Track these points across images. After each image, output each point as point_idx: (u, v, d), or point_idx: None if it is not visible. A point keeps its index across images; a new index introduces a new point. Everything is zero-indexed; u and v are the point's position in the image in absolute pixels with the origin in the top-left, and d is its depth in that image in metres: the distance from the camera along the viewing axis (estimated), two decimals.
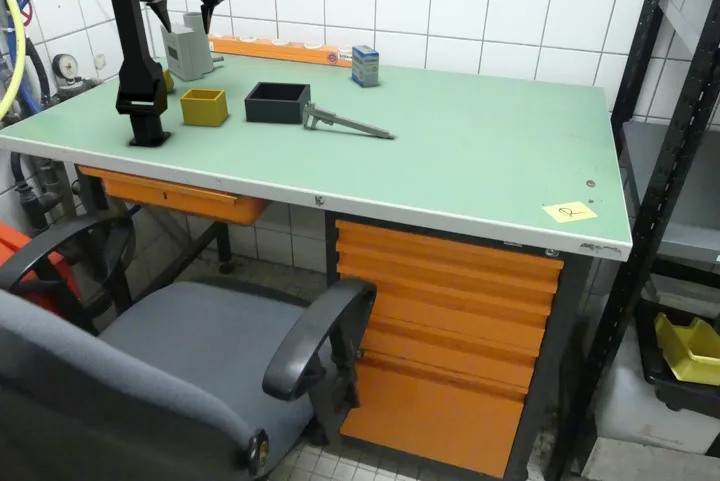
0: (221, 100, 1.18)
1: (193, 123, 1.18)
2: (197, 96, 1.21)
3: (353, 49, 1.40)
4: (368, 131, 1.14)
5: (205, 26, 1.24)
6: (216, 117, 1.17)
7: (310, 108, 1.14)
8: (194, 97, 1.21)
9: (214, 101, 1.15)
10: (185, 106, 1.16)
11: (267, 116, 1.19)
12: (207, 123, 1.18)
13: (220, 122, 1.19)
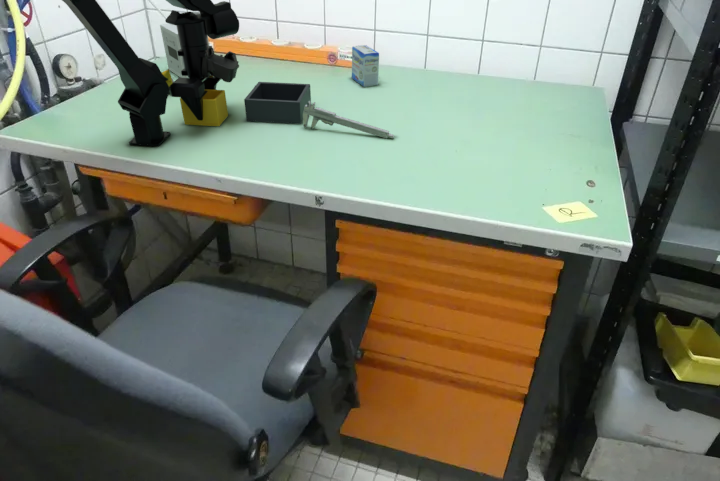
0: (221, 100, 1.18)
1: (193, 123, 1.18)
2: None
3: (353, 49, 1.40)
4: (368, 131, 1.14)
5: None
6: (216, 117, 1.17)
7: (310, 108, 1.14)
8: None
9: (214, 101, 1.15)
10: (185, 106, 1.16)
11: (267, 116, 1.19)
12: (207, 123, 1.18)
13: (220, 122, 1.19)
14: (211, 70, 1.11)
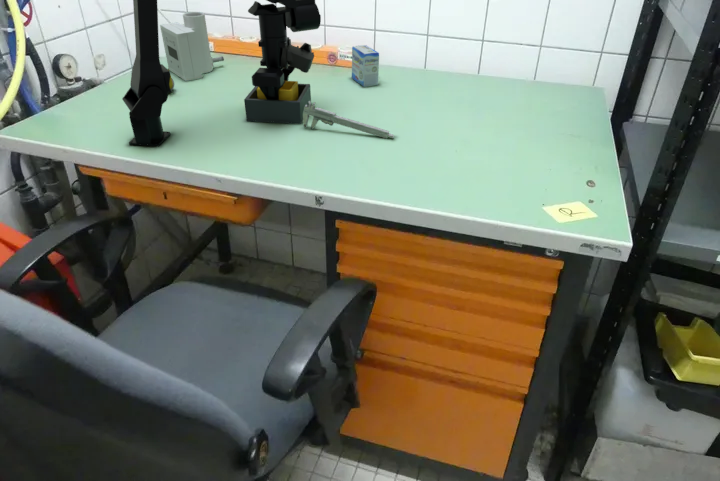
0: (295, 91, 1.22)
1: None
2: None
3: (353, 49, 1.40)
4: (368, 131, 1.14)
5: None
6: None
7: (310, 108, 1.14)
8: None
9: (290, 91, 1.18)
10: (261, 96, 1.20)
11: (267, 116, 1.19)
12: None
13: None
14: (290, 60, 1.15)
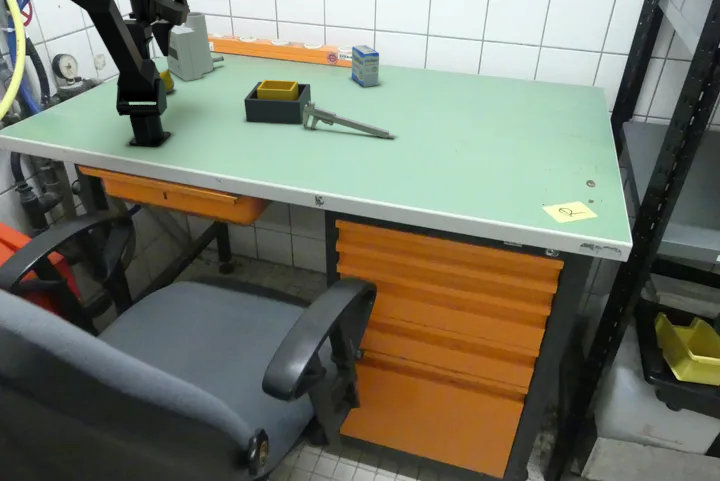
0: (295, 91, 1.22)
1: None
2: (270, 87, 1.24)
3: (353, 49, 1.40)
4: (368, 131, 1.14)
5: None
6: None
7: (310, 108, 1.14)
8: (267, 88, 1.25)
9: (290, 91, 1.18)
10: (261, 96, 1.20)
11: (267, 116, 1.19)
12: None
13: None
14: (159, 12, 1.08)
